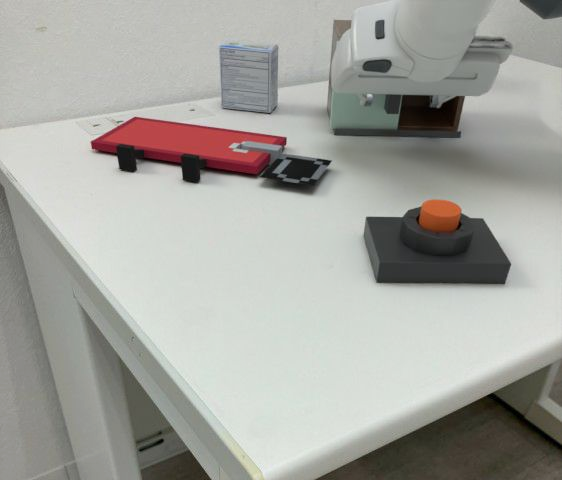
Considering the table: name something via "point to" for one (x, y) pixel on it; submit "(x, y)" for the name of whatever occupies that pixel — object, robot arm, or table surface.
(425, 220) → the orange button
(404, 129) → the cabinet
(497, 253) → the button block
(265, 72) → the medicine box
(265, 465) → the table surface
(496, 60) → the robot arm
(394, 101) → the sliding door
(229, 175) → the table surface
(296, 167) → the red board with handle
